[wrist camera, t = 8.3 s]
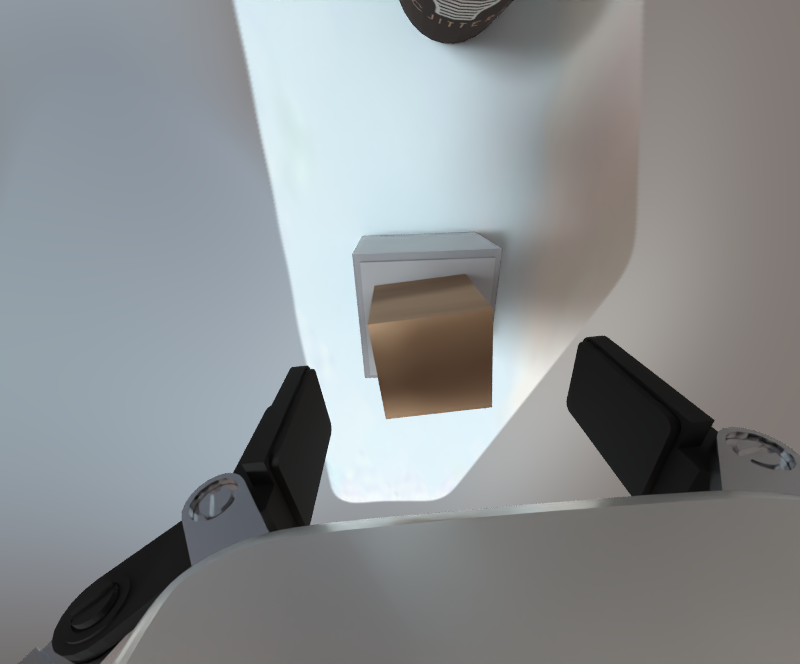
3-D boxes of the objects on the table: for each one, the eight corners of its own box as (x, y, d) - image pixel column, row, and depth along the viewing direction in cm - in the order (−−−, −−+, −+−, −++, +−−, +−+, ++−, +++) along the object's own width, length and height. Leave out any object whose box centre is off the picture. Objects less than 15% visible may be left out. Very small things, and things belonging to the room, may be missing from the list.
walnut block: (374, 285, 16) (367, 324, 12) (465, 273, 16) (493, 309, 12) (387, 362, 19) (386, 419, 14) (467, 352, 18) (491, 407, 14)
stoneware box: (362, 235, 21) (351, 255, 16) (474, 231, 21) (504, 249, 16) (370, 335, 25) (364, 380, 19) (466, 331, 25) (488, 375, 19)
